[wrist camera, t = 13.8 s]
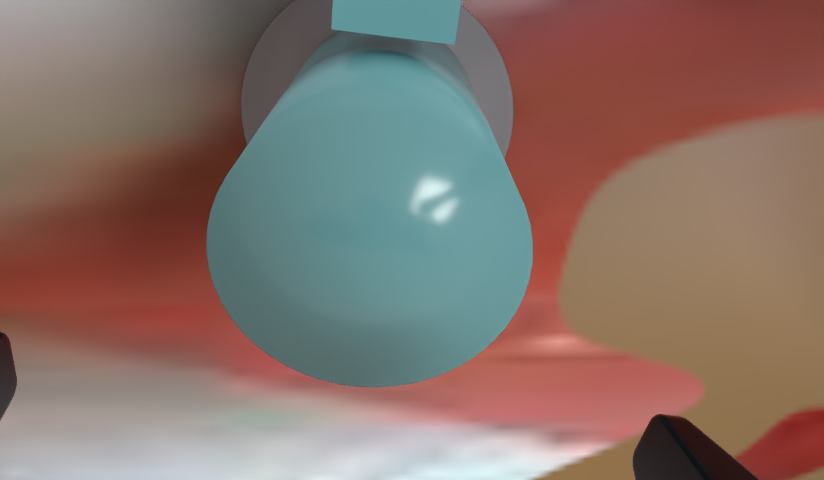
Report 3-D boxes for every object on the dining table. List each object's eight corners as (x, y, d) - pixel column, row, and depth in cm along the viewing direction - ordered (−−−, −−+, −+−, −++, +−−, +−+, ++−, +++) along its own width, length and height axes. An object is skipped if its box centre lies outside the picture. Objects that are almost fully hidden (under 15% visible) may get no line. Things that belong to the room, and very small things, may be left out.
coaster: (544, 5, 18) (547, 6, 17) (476, 253, 22) (477, 258, 22) (250, -54, 17) (247, -53, 17) (238, 217, 21) (235, 221, 21)
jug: (458, 206, 21) (498, 397, 12) (290, 189, 20) (213, 375, 12) (536, -223, 15) (711, -412, 6) (301, -261, 14) (163, -518, 6)
